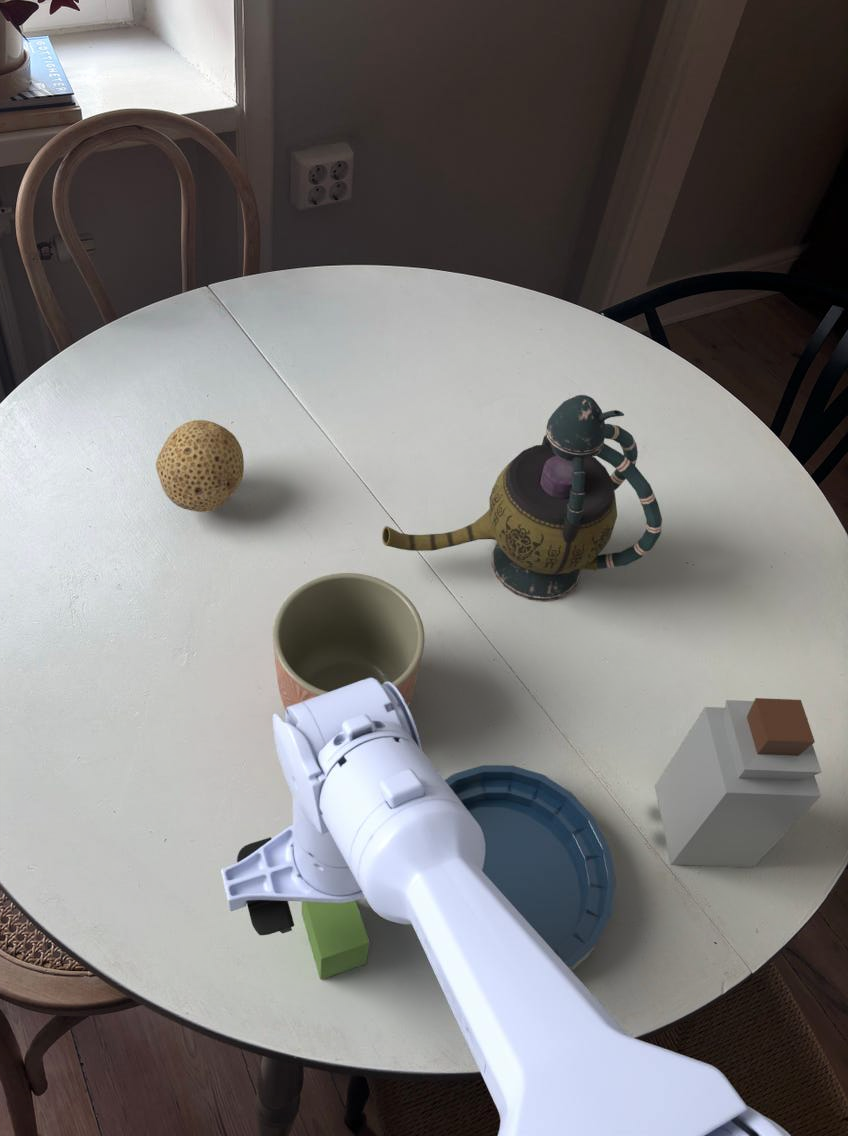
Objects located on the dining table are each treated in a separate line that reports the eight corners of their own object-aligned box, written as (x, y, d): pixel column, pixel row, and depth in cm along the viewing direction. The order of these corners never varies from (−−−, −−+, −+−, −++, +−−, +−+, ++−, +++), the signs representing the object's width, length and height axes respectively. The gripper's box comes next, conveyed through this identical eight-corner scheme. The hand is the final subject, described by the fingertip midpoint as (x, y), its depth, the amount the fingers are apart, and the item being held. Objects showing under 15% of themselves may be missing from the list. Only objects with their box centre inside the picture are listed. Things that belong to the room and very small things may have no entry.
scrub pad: (366, 963, 70) (369, 942, 66) (320, 980, 69) (321, 959, 65) (345, 897, 73) (348, 874, 69) (301, 912, 72) (301, 889, 68)
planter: (393, 781, 79) (403, 718, 71) (255, 741, 81) (250, 675, 73) (427, 661, 87) (439, 592, 79) (301, 627, 89) (301, 557, 81)
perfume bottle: (752, 867, 76) (848, 767, 63) (670, 864, 76) (749, 763, 62) (732, 788, 81) (817, 679, 67) (654, 785, 80) (725, 675, 67)
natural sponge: (251, 528, 97) (247, 462, 90) (164, 539, 96) (152, 472, 88) (241, 466, 103) (236, 398, 96) (159, 475, 102) (147, 407, 94)
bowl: (641, 950, 71) (654, 935, 69) (445, 1024, 67) (451, 1012, 65) (548, 761, 81) (556, 742, 79) (372, 815, 77) (374, 797, 75)
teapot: (635, 611, 93) (711, 445, 75) (384, 617, 90) (403, 448, 73) (606, 518, 101) (669, 349, 83) (375, 522, 99) (390, 350, 81)
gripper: (432, 726, 59) (413, 815, 69) (204, 792, 55) (219, 876, 65) (476, 831, 54) (449, 910, 65) (231, 910, 51) (243, 980, 61)
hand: (336, 899), depth 65 cm, fingers open, 7 cm apart
